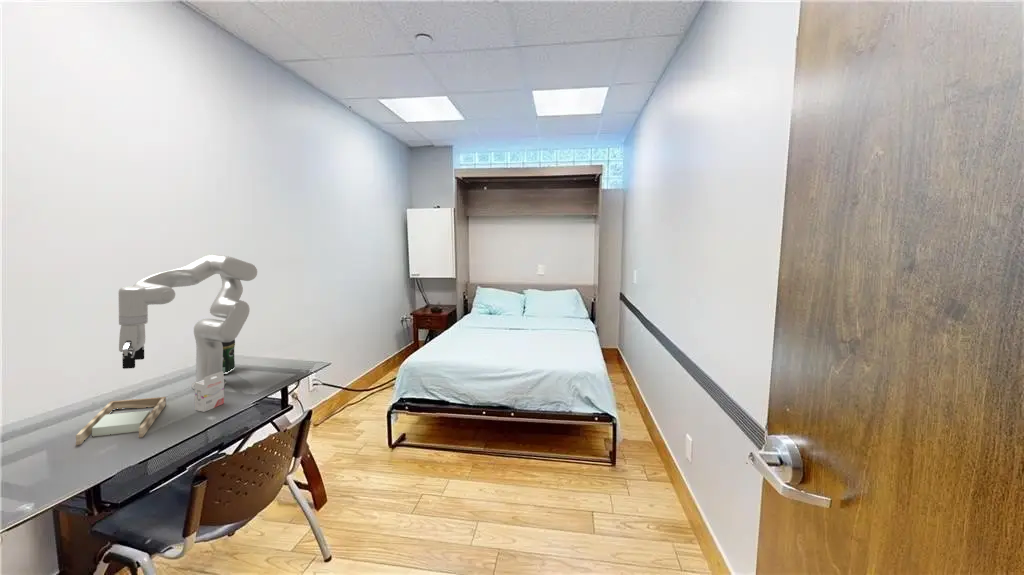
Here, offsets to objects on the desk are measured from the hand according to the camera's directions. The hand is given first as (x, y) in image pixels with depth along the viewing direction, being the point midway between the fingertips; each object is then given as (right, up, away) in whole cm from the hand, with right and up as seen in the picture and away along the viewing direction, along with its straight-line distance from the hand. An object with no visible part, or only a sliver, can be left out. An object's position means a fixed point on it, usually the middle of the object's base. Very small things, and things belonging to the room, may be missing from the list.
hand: (133, 363), depth 139 cm
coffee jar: (-4, -15, +48) cm, 50 cm away
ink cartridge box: (+17, -21, +14) cm, 31 cm away
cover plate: (+2, -22, -6) cm, 23 cm away
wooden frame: (0, -21, -3) cm, 21 cm away
